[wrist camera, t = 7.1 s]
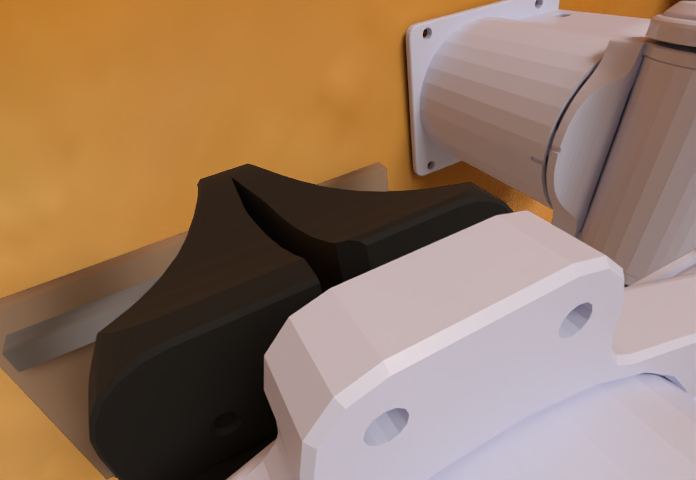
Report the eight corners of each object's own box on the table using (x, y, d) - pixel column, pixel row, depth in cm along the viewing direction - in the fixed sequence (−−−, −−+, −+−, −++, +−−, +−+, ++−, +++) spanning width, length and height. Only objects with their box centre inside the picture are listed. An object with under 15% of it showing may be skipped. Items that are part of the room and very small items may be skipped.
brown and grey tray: (378, 162, 24) (418, 189, 21) (396, 325, 32) (426, 361, 29) (-37, 312, 18) (-59, 377, 16) (106, 467, 26) (108, 530, 23)
